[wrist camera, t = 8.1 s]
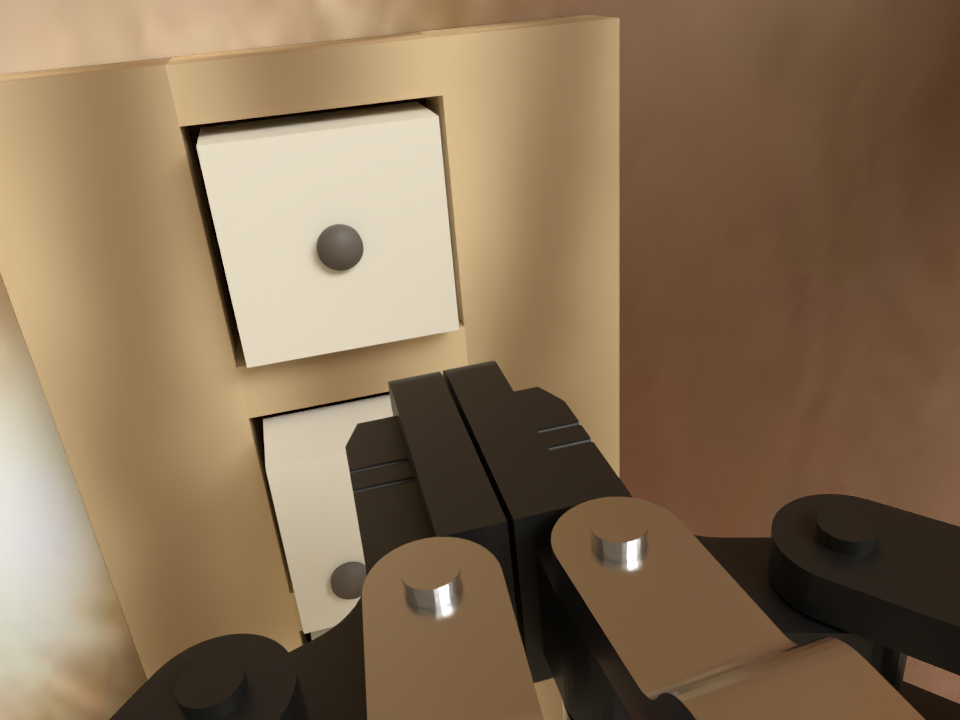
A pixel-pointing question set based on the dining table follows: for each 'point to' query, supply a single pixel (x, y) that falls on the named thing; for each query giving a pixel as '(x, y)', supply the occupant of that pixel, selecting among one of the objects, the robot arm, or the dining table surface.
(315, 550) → the tile two
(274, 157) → the tile one
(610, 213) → the board
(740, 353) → the dining table surface
